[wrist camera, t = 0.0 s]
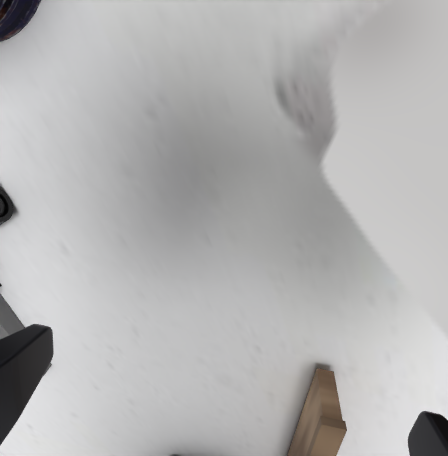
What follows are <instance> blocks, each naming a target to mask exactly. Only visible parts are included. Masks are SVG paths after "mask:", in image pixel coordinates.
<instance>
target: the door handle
mask: <svg viewBox="0 0 448 456" xmlns="http://www.w3.org/2000/svg"><path fill="white" fill-rule="evenodd" d="M12 213H13V206H12V203H11V200H10V199H9V197H8V196H7V195H6V193H5V192H3V191H2V190H1V189H0V225H1V224H2V223H3V222H5V221H7V220H8V219H10V217H11V216H12ZM0 286H2V285H1V284H0ZM24 328H25V327H24V326H23V324H22V323H21V321H20V320H19V319H18V317H17V316H16V315H15V313H14V312H13V310H12V309H11V308H10V306H9V305H8V304H7V302H6V301H5V299H4V298H3V297H2V295H1V294H0V339H2V338H4V337H6V336H8V335H11V334H13V333H15V332H17V331H19V330H22V329H24ZM51 365H52V364H51V363H50V364H49V366H48V368H47V370H46V371H45V373H46V372H47V371H48V369H49V368H50V366H51ZM45 373H44V375H45ZM44 375H43V376H44Z"/></svg>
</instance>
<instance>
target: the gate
mask: <svg viewBox="0 0 448 456" xmlns="http://www.w3.org/2000/svg"><path fill="white" fill-rule="evenodd" d="M346 431H347V428H346V423H345V421H343V420H342V414H341V409H340V404H339V398H338V393H337V387H336V382H335V376H334V372H332V371H328V370H323V369H319V368H317V369H316V372H315V375H314V378H313V381H312V384H311V387H310V390H309V393H308V396H307V399H306V402H305V405H304V408H303V410H302V413H301V416H300V419H299V422H298V425H297V428H296V431H295V434H294V437H293V440H292V443H291V446H290V449H289V452H288V455H287V456H336V455H337V452H338V450H339V448H340V445H341V443H342V440H343V438H344V436H345V433H346Z"/></svg>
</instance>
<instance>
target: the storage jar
mask: <svg viewBox="0 0 448 456" xmlns="http://www.w3.org/2000/svg"><path fill="white" fill-rule="evenodd" d="M40 1H41V0H0V42H1V41H4V40H6V39H9V38H11V37H12V36H14V35H15V34H17V33H18V32H20V31H21V30H22V29H23V28H24V27H25V26H26V25H27V24H28V22H29V21H30V19H31V18H32V17H33V15H34V14H35V12H36V10H37V8H38V5H39V3H40Z"/></svg>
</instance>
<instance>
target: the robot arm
mask: <svg viewBox="0 0 448 456" xmlns="http://www.w3.org/2000/svg"><path fill="white" fill-rule="evenodd" d="M52 357H53V333H52V329H51V328H50V327H48V326H44V325H39V324H33V325H30V326H28V327H26V328H24V329H22V330H19V331H17V332H15V333H13V334H11V335H8V336H6V337H4V338H2V339H0V445H1V444H2V442H3V441H4V439H5V438H6V436H7V435H8V434H9V432H10V431H11V429H12V428H13V426H14V425H15V423H16V422H17V420H18V419H19V417H20V415H21V414H22V412H23V410H24V408H25V407H26V405H27V403H28V401H29V400H30V398H31V396H32V394H33V392H34V391H35V389H36V387H37V385H38V384H39V382H40V380H41V378H42V377H43V375H44V373H45V371H46V370H47V368H48V366H49V364H50V362H51V360H52ZM408 447H409V453H410V456H448V420H447V419H446V418H445V417H443V416H442V415H440V414H436V413H432V412H427V411H423V412H421V413H420V414H419V416H418V418H417V420H416V422H415V424H414V426H413V427H412V429H411V431H410V433H409V437H408Z"/></svg>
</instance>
